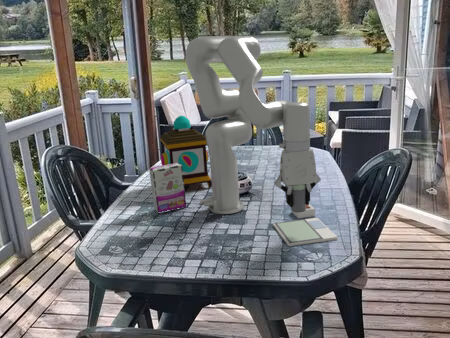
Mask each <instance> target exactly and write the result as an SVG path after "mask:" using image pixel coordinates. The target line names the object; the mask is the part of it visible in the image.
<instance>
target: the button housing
mask: <svg viewBox="0 0 450 338" xmlns="http://www.w3.org/2000/svg"><path fill="white" fill-rule="evenodd" d="M291 213H292V214H293V215H294V216H295V217H296V218H297V219H302V218H303V219H305V218H313V217H316V208H315V207H314V206H313V205H312V204H310V203H309V205H308V209H306V211H304V212H299V213H298V212H293V211H291Z"/></svg>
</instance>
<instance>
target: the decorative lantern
mask: <svg viewBox="0 0 450 338" xmlns="http://www.w3.org/2000/svg"><path fill="white" fill-rule="evenodd" d="M172 125H173V126H172V128H170V129H169V130H168V131H167V132H163V134H161V135H160V136H159V140H160V141H161V143H162V150H163V153H162V154H161V156H160V162H161V166H163V165H168V164H174V163H179V164H181V165H182V169H183V179H184V187H186V186H192V185H198V184H204V183H206V184H207V188H209V187H211V188H212V180H211V176H210V175H209V172H208V161H209V151H208V150H207V142H206V138H205V135H204V134H202V132H200V131H198V130H197V129H194V128H193V127H192V126H191V122H190V119H188V118H187V117H186V116H184V115H178V116H177V117H176V118H175V120H174V121H173V124H172Z"/></svg>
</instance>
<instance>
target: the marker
mask: <svg viewBox="0 0 450 338" xmlns="http://www.w3.org/2000/svg"><path fill="white" fill-rule="evenodd" d="M291 194H292V195H293V207H290V210H291V212H292V211H293V212H298V213H299V212H304V211H306V194H305V184H302V185H294V186H292V190H291ZM293 212H292V213H293Z"/></svg>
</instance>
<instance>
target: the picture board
mask: <svg viewBox="0 0 450 338" xmlns="http://www.w3.org/2000/svg"><path fill="white" fill-rule="evenodd" d="M272 224H273V227H274V228H275V230H276V231H277V233H278V234H279V235H280V236H281V238H282V239H283V240H284V242H285V243H286V244H287V246H288V247H291V246H292V247H293V246H300V245H307V244H315V243H321V242H330V241H335V240H338V238H339V237H338V236H337V235H336V234H335V233H334V232H333V231H332V230H331V229H330V228H329V227H328V226H327V225H326V224H324V222H322V221H321V219H320V218H318V217H310V218H303V219H302V218H301V219H295V220H289V221H287V220H286V221H280V222H274V223H272Z"/></svg>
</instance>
